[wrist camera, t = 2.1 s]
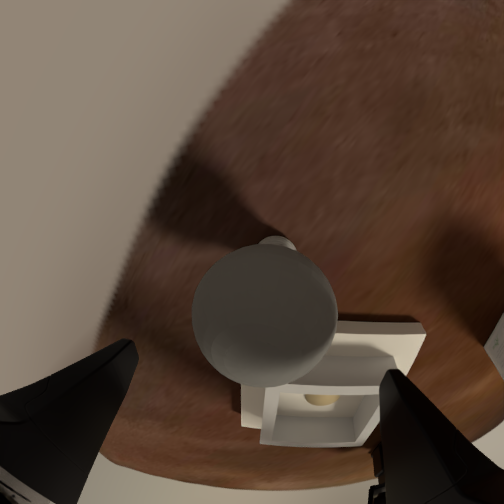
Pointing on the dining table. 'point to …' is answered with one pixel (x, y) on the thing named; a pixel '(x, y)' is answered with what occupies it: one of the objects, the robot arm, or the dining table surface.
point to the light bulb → (264, 314)
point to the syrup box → (497, 346)
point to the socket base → (334, 388)
